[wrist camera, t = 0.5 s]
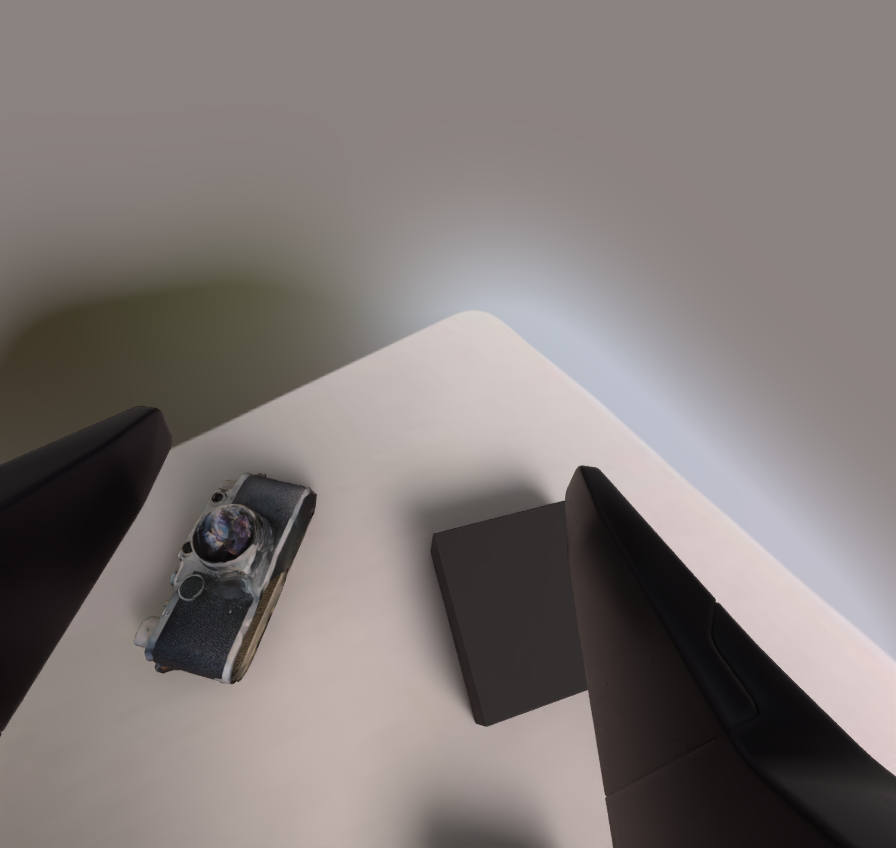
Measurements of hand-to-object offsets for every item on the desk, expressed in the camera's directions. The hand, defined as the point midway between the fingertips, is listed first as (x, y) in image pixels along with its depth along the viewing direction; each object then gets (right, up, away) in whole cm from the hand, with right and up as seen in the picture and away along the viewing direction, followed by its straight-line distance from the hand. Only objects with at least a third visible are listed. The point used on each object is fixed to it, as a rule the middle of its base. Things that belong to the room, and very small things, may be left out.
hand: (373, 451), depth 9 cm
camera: (-9, -8, +14) cm, 18 cm away
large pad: (+6, -9, +14) cm, 18 cm away
